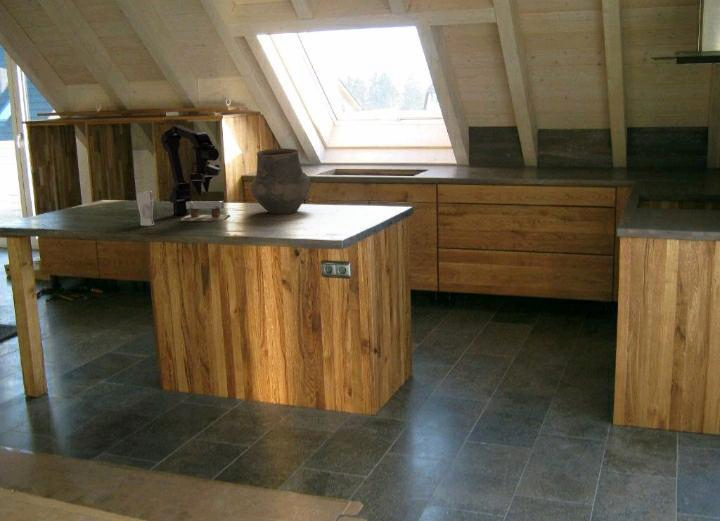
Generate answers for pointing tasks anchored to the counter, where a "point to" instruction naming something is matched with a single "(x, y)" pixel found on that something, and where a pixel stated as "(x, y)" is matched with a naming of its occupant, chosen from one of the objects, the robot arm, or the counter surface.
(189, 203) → the grey rod with balls
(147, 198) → the beer glass
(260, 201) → the ceramic pot
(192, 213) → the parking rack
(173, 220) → the counter surface
